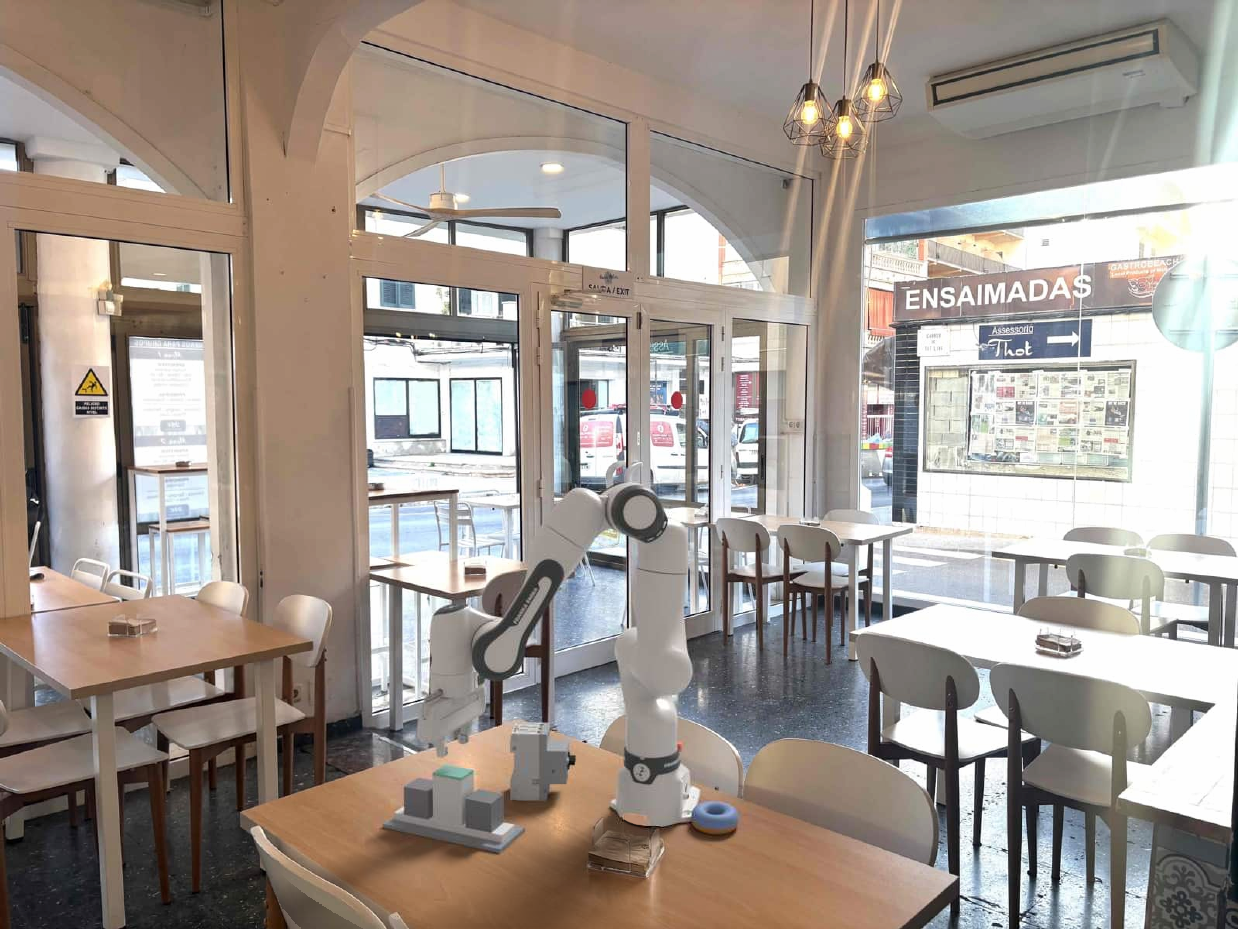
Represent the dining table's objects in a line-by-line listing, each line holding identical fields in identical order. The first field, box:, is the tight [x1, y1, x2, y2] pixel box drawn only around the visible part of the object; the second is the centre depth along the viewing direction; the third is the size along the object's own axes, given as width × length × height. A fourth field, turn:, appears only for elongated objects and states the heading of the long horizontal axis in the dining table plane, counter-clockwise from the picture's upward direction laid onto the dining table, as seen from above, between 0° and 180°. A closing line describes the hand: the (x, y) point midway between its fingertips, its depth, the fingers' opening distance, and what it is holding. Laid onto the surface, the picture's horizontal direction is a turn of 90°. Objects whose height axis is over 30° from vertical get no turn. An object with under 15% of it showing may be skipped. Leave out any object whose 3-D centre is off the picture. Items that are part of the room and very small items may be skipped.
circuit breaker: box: [509, 722, 577, 802], centre depth 201 cm, size 8×14×15 cm, turn 89°
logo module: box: [432, 764, 475, 826], centre depth 183 cm, size 4×7×10 cm, turn 67°
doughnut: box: [690, 800, 740, 836], centre depth 186 cm, size 10×10×5 cm
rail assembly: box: [382, 777, 526, 854], centre depth 184 cm, size 10×28×8 cm, turn 67°
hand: (453, 749), depth 183 cm, fingers open, 6 cm apart
